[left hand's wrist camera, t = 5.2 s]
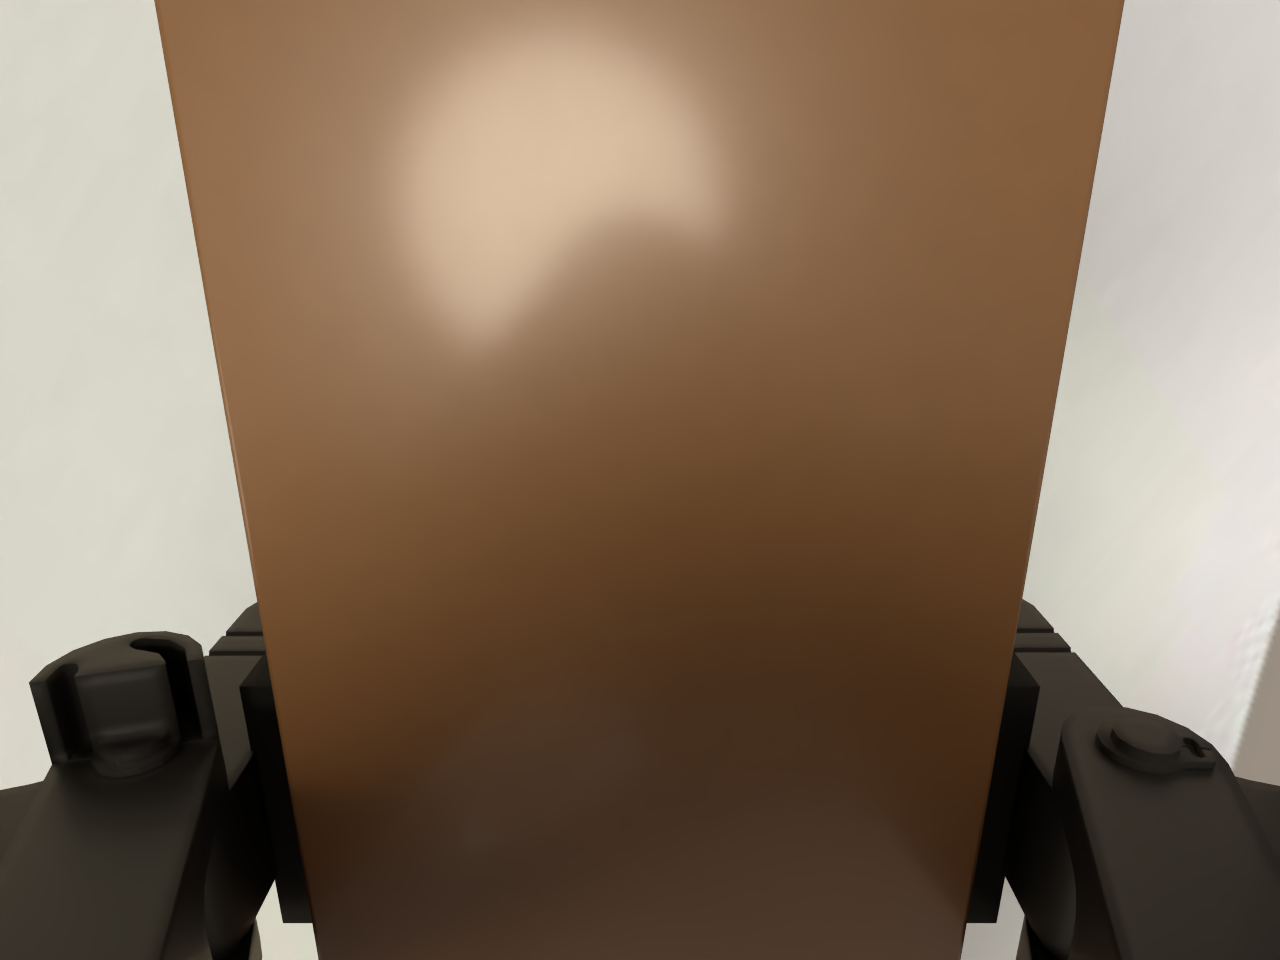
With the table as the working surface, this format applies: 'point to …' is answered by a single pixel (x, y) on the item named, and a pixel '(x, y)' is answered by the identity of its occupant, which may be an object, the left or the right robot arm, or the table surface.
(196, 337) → the table surface
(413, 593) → the bar
